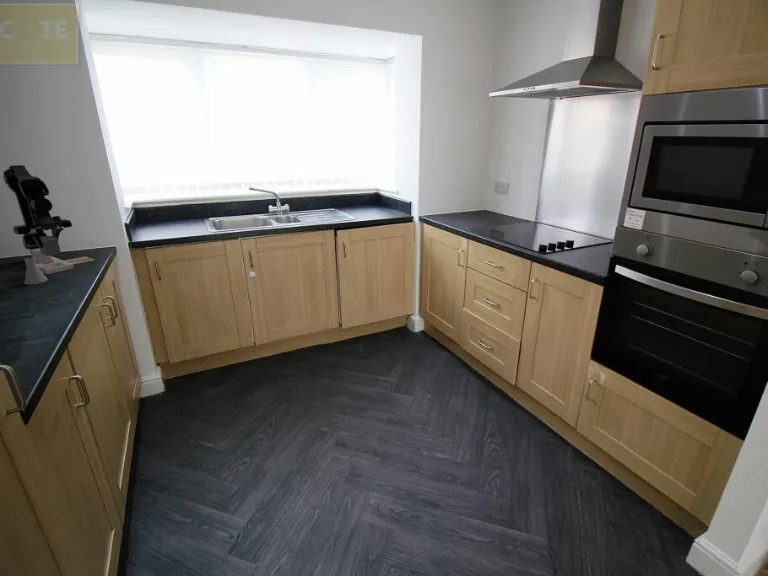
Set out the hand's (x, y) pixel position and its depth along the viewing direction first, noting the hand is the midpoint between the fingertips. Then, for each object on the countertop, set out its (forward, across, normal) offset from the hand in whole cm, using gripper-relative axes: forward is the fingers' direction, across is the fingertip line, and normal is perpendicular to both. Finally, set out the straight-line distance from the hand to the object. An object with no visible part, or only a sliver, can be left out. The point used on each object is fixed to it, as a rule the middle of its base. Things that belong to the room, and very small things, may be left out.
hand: (49, 246), depth 178 cm
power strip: (+11, 0, +9) cm, 14 cm away
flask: (+11, -11, -12) cm, 20 cm away
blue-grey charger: (+10, 0, +12) cm, 16 cm away
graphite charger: (+3, 0, 0) cm, 3 cm away
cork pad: (+11, +12, +7) cm, 18 cm away
